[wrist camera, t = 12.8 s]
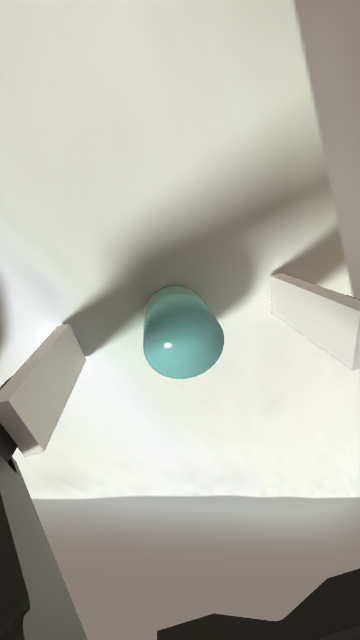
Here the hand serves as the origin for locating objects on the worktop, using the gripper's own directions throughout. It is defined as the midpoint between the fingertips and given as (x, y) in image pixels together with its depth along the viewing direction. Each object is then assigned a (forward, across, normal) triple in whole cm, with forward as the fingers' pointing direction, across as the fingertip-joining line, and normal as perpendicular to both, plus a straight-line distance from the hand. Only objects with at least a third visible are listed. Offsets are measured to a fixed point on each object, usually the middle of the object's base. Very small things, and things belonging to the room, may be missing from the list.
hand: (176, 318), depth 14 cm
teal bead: (0, 0, 0) cm, 0 cm away
